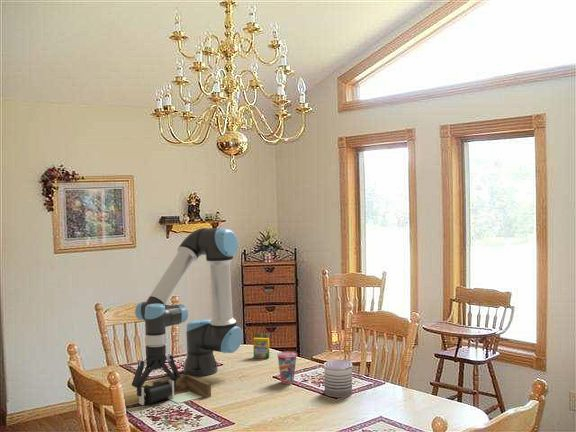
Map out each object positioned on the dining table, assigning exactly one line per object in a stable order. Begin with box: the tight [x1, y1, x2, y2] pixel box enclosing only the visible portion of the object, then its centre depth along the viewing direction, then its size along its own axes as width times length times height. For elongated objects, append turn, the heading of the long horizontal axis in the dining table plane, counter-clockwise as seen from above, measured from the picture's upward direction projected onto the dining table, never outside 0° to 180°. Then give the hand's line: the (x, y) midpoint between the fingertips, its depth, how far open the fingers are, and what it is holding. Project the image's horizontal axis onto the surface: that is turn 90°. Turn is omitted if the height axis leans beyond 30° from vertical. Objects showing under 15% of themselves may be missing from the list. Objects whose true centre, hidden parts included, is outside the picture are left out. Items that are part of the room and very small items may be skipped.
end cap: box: [142, 381, 172, 406], centre depth 247 cm, size 10×7×7 cm
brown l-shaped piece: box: [152, 374, 212, 398], centre depth 254 cm, size 16×18×5 cm
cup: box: [277, 351, 298, 385], centre depth 270 cm, size 9×8×12 cm
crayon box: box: [253, 333, 270, 360], centre depth 311 cm, size 7×3×12 cm, turn 80°
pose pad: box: [166, 391, 202, 404], centre depth 252 cm, size 11×9×1 cm
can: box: [323, 359, 353, 398], centre depth 255 cm, size 11×11×12 cm
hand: (156, 400), depth 247 cm, fingers open, 12 cm apart
